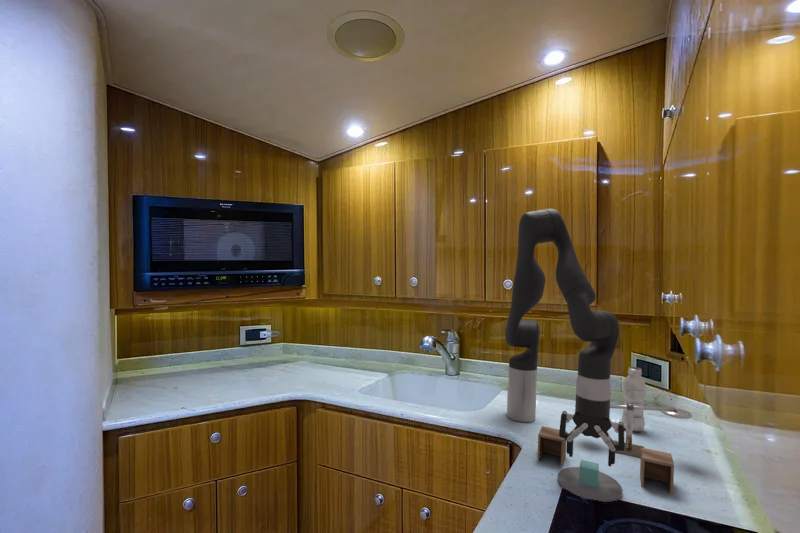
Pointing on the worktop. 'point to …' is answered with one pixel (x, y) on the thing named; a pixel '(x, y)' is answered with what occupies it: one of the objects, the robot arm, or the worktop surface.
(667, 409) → the balance
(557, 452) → the hiding cover
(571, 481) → the slate dish
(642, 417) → the plastic bottle
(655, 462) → the empty cover
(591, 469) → the teal block
